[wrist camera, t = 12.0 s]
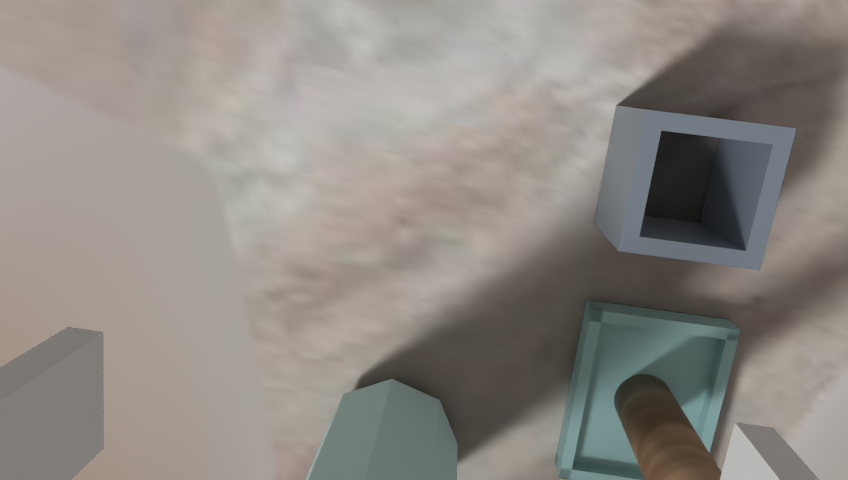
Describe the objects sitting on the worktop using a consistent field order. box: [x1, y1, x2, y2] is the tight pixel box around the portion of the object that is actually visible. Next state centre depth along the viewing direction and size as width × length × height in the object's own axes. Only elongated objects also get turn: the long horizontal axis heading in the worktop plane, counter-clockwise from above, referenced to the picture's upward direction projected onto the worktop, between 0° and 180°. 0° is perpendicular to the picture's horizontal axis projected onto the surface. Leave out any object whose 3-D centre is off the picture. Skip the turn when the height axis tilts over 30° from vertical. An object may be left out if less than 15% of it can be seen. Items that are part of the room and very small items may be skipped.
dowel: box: [614, 374, 721, 480], centre depth 39 cm, size 4×4×14 cm
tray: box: [555, 300, 741, 480], centre depth 46 cm, size 13×10×2 cm
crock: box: [594, 105, 797, 270], centre depth 39 cm, size 8×8×8 cm
